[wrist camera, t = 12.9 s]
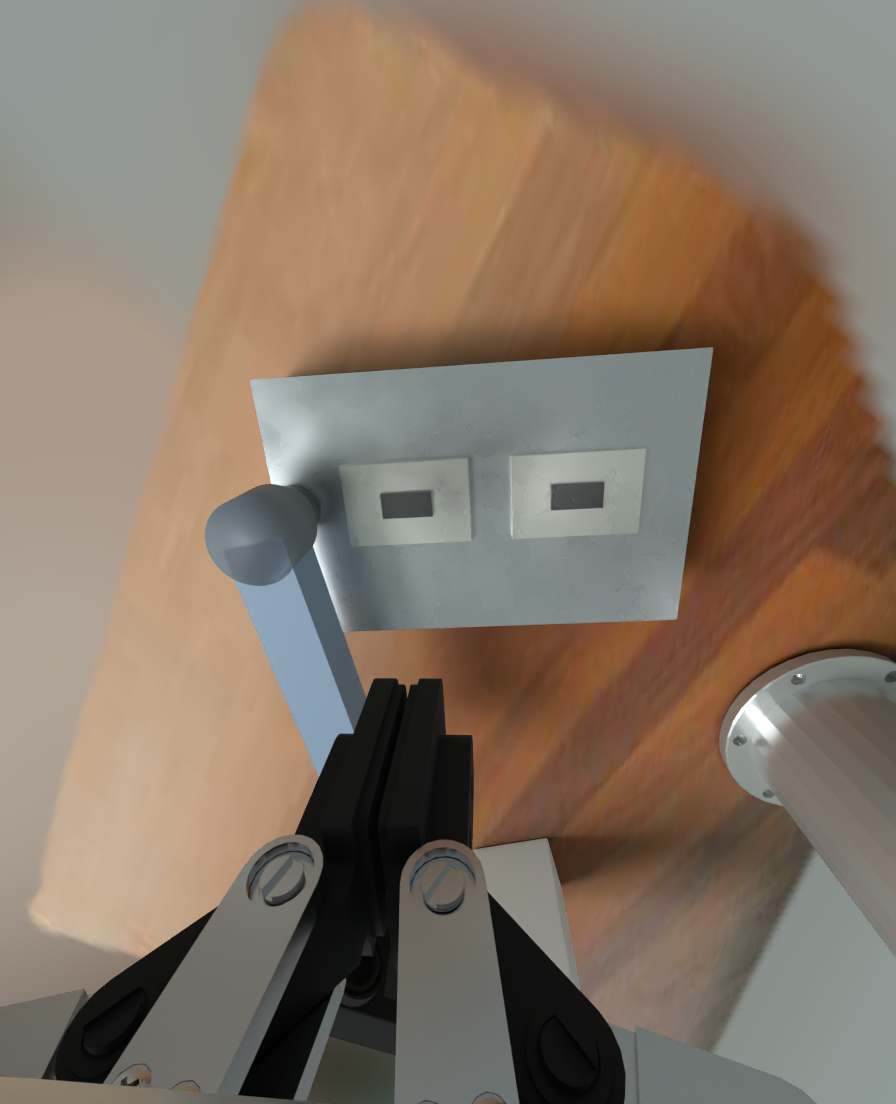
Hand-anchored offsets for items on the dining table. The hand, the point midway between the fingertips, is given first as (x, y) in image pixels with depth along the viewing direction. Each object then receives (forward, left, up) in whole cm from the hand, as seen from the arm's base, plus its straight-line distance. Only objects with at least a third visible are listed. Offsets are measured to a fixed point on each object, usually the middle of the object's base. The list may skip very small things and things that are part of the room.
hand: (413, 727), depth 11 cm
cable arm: (+6, +6, -10) cm, 13 cm away
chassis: (-2, -2, -16) cm, 17 cm away
